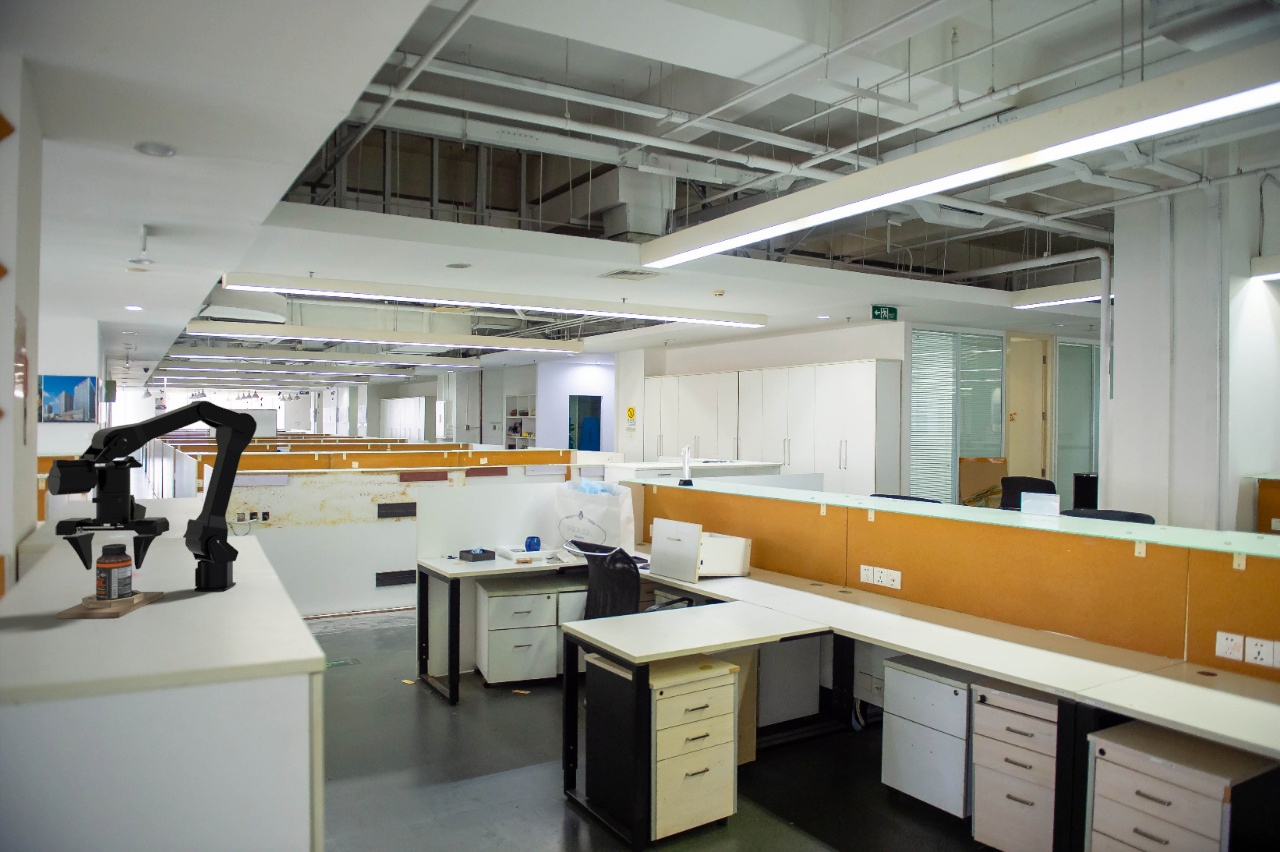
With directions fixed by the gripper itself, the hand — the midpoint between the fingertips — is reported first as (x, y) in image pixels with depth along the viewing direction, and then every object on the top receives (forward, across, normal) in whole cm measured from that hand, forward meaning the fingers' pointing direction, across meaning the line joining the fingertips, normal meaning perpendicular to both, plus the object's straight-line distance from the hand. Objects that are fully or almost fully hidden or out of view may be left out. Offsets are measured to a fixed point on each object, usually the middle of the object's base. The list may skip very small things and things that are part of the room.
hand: (113, 569), depth 157 cm
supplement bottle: (+7, 0, 0) cm, 7 cm away
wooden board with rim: (+8, 0, 0) cm, 8 cm away
